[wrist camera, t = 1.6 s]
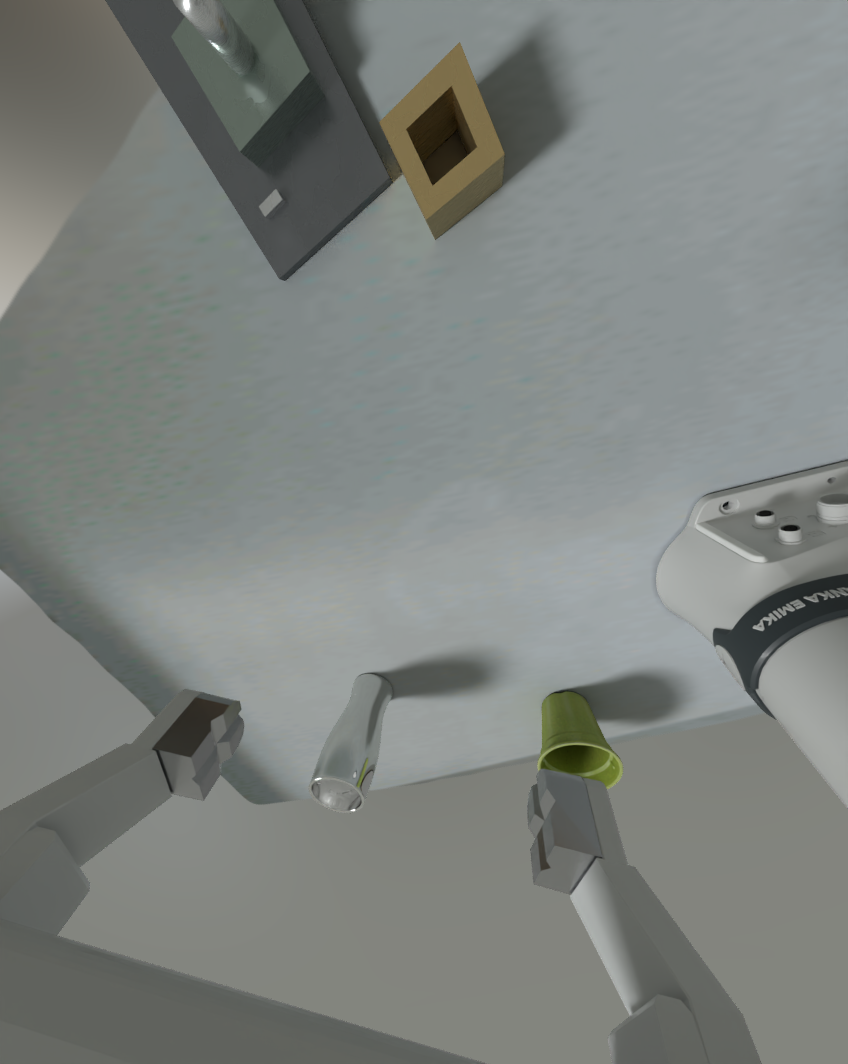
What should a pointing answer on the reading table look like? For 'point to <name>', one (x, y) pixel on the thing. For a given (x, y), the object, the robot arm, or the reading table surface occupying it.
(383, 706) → the beer glass
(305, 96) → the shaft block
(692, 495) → the reading table surface
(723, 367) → the reading table surface
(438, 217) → the tan square sleeve
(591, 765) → the plant pot
